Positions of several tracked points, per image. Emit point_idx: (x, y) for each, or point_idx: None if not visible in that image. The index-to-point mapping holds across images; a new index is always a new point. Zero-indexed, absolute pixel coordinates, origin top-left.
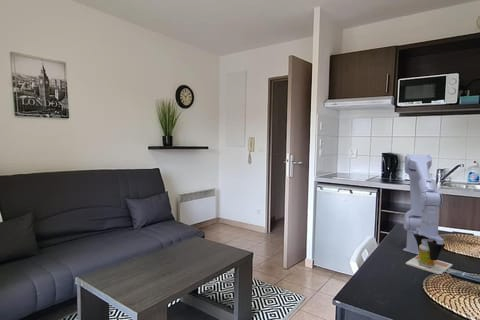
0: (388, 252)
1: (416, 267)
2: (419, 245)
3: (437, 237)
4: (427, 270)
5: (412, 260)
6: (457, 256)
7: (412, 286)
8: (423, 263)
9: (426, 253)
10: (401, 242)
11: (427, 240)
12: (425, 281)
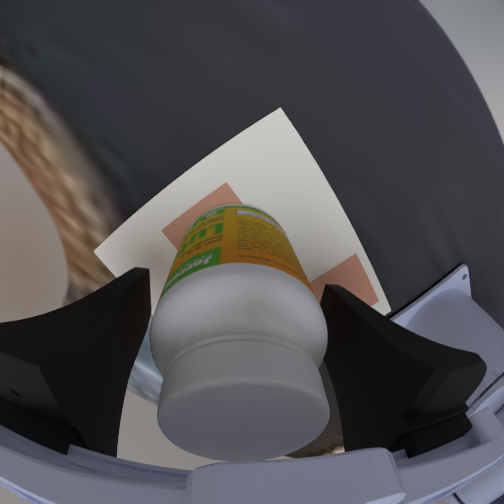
0: (465, 149)
1: (209, 154)
2: (356, 322)
3: (21, 495)
4: (149, 201)
5: (320, 199)
6: (330, 435)
7: (6, 20)
8: (201, 216)
9: (173, 274)
10: (501, 314)
11: (250, 433)
12: (26, 99)
